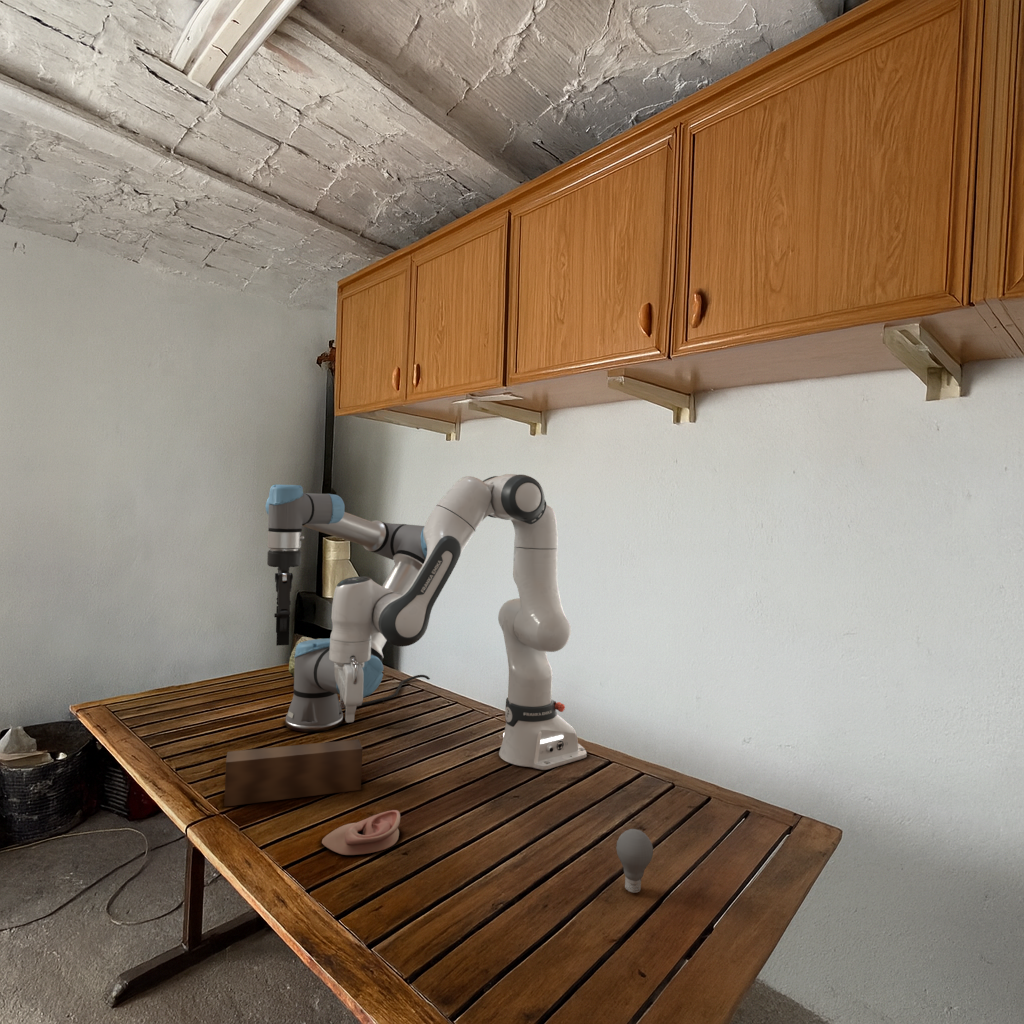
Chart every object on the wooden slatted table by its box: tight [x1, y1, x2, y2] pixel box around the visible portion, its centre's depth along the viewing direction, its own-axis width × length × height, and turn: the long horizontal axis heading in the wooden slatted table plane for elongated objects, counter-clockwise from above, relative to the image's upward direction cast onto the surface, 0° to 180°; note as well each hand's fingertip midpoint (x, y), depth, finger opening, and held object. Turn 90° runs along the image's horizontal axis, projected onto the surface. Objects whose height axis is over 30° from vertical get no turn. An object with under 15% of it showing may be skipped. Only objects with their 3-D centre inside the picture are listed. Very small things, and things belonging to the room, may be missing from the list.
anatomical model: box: [321, 809, 401, 856], centre depth 118 cm, size 13×4×12 cm
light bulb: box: [615, 828, 654, 894], centre depth 106 cm, size 6×6×10 cm
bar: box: [223, 738, 363, 807], centre depth 135 cm, size 27×6×9 cm, turn 111°
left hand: (282, 638), depth 151 cm, fingers open, 13 cm apart
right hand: (346, 713), depth 139 cm, fingers open, 8 cm apart
